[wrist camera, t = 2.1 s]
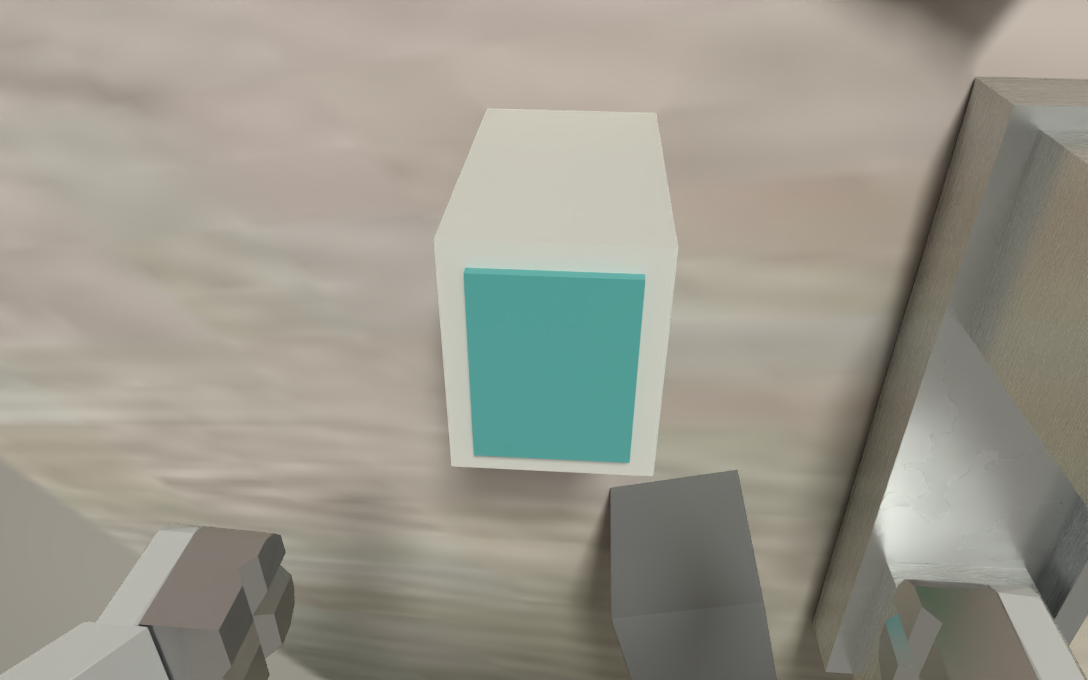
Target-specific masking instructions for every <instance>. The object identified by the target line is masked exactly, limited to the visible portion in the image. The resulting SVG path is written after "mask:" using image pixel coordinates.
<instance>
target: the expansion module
mask: <svg viewBox="0 0 1088 680" xmlns="http://www.w3.org/2000/svg"><path fill="white" fill-rule="evenodd" d="M434 251H435V264H436V276H437V289H438V302H439V315H440V327H441V340H442V353H443V365H444V378H445V391H446V404H447V416H448V429H449V442H450V455H451V466H455V467H475V468H495V469H515V470H535V471H555V472H575V473H595V474H615V475H635V476H653V474H654V465H655V456H656V447H657V437H658V428H659V419H660V410H661V401H662V392H663V383H664V374H665V365H666V356H667V347H668V338H669V328H670V319H671V310H672V301H673V292H674V283H675V274H676V265H677V256H678V243H677V237H676V231H675V225H674V219H673V212H672V206H671V200H670V194H669V188H668V182H667V176H666V170H665V163H664V157H663V151H662V145H661V139H660V133H659V127H658V120H657V114H656V113H641V112H603V111H565V110H527V109H489V108H487V110H486V112H485V115H484V117H483V119H482V122H481V124H480V127H479V129H478V132H477V134H476V137H475V139H474V142H473V144H472V147H471V149H470V151H469V154H468V156H467V159H466V161H465V164H464V166H463V169H462V171H461V174H460V176H459V178H458V181H457V183H456V186H455V188H454V191H453V193H452V196H451V198H450V201H449V203H448V205H447V208H446V210H445V213H444V215H443V218H442V220H441V223H440V225H439V228H438V230H437V232H436V235H435V237H434Z"/></svg>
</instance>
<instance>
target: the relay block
mask: <svg viewBox="0 0 1088 680" xmlns="http://www.w3.org/2000/svg"><path fill="white" fill-rule="evenodd" d="M610 490H611V620H612V623H613V626H614V629H615V632H616V635H617V638H618V641H619V644H620V647H621V650H622V653H623V656H624V659H625V662H626V665H627V668H628V671H629V674H630V677H631V680H777V677H776V672H775V666H774V660H773V654H772V648H771V642H770V636H769V630H768V625H767V619H766V613H765V607H764V601H763V596H762V591H761V586H760V581H759V576H758V571H757V566H756V561H755V556H754V551H753V546H752V541H751V536H750V531H749V526H748V521H747V516H746V511H745V506H744V501H743V496H742V491H741V485H740V480H739V475H738V470H733V471H726V472H719V473H712V474H705V475H698V476H691V477H684V478H676V479H669V480H662V481H655V482H648V483H641V484H634V485H627V486H620V487H613V488H610Z"/></svg>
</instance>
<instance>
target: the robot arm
mask: <svg viewBox="0 0 1088 680" xmlns="http://www.w3.org/2000/svg"><path fill="white" fill-rule="evenodd" d="M285 553H286V552H285V548H284V545H283V542H282V538H281V535H278V534H274V533H266V532H256V531H246V530H236V529H226V528H216V527H206V526H204V527H202V526H191V525H181V524H170V523H169V524H167V525H166V526H164V527H163V528H162V529H160V530H159V531H158V532H157V533H156V534H155V536H154V537H153V539H152V540H151V542H150V543H149V544H148V546H147V547H146V549H145V550H144V552H143V553H142V555H141V556H140V558H139V559H138V561H137V562H136V564H135V565H134V566H133V568H132V570H131V571H130V572H129V574H128V575H127V577H126V578H125V580H124V581H123V583H122V584H121V586H120V587H119V589H118V590H117V592H116V593H115V594H114V596H113V597H112V599H111V600H110V602H109V603H108V605H107V606H106V608H105V609H104V611H103V612H102V613H101V615H100V617H99V618H98V619H97V621H96V622H83V623H82V624H80V625H79V626H77V627H75V628H74V629H72V630H71V631H69V632H67V633H66V634H64V635H63V636H61V637H59V638H58V639H56V640H55V641H53V642H52V643H50V644H48V645H47V646H45V647H44V648H42V649H41V650H39V651H37V652H36V653H34V654H33V655H31V656H29V657H28V658H26V659H25V660H23V661H22V662H20V663H18V664H17V665H15V666H14V667H12V668H10V669H9V670H7V671H6V672H4V673H3V674H1V675H0V680H267V679H268V677H269V672H268V668H267V664H266V661H265V658H266V657H268V656H269V655H270V654H271V653H273V652H274V651H275V650H277V649H278V648H279V647H280V646H282V644H283V642H284V639H285V637H286V634H287V632H288V629H289V627H290V623H291V618H292V613H293V608H294V585H293V581H292V576H291V574H289V573H288V572H287V571H286V570H285V569H284V568H283V567H282V566H281V565H280V563H281V561H282V559H283V557H284V555H285ZM893 599H894V602H895V605H896V608H897V611H898V613H897V614H896V615H894V616H893V617H891V618H890V619H888V620H887V621H885V623H884V626H883V629H882V633H881V636H880V639H879V666H880V673H881V679H882V680H1085V679H1084V677H1083V676H1082V674H1081V672H1080V670H1079V668H1078V666H1077V664H1076V663H1075V661H1074V659H1073V657H1072V655H1071V653H1070V652H1069V650H1068V648H1067V646H1066V644H1065V642H1064V641H1063V639H1062V637H1061V635H1060V633H1059V631H1058V629H1057V628H1056V626H1055V624H1054V622H1053V620H1052V618H1051V617H1050V615H1049V613H1048V611H1047V609H1046V607H1045V606H1044V604H1043V602H1042V600H1041V598H1040V596H1039V595H1038V594H1037V593H1036V592H1035V591H1034V590H1033V589H1031V588H1027V587H1013V586H999V585H984V584H976V583H960V582H944V581H928V580H912V579H905V580H903V581H902V582H901V583H900V584H899V585H898V588H897V590H896V593H895V595H894V598H893Z"/></svg>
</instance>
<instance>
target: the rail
mask: <svg viewBox="0 0 1088 680" xmlns="http://www.w3.org/2000/svg"><path fill="white" fill-rule="evenodd" d="M905 579H912V580H928V581H944V582H960V583H976V584H984V585H999V586H1013V587H1027V588H1031V589H1033V590H1034V591H1035V592H1036V593H1037V594H1038V595H1039V596H1040V598H1041V600H1042V602H1043V604H1044V606H1045V607H1046V609H1047V611H1048V613H1049V615H1050V617H1051V618H1052V620H1053V622H1054V624H1055V626H1056V628H1057V629H1058V631H1059V633H1060V635H1061V637H1062V639H1063V641H1064V642H1065V644H1066V646H1067V648H1068V650H1069V652H1070V653H1071V655H1072V657H1073V659H1074V661H1075V663H1076V664H1077V666H1078V668H1079V670H1080V672H1081V674H1082V676H1083V677H1084V679H1085V680H1087V678H1086V676H1085V674H1084V673H1083V671H1082V669H1081V667H1080V665H1079V663H1078V662H1077V660H1076V658H1075V656H1074V654H1073V653H1072V651H1071V649H1070V647H1069V645H1070V643H1071V641H1072V640H1073V638H1074V636H1075V635H1076V633H1077V631H1078V630H1079V628H1080V626H1081V625H1082V623H1083V621H1084V620H1085V618H1086V616H1087V615H1088V80H1065V79H1022V78H980V77H976V79H975V82H974V85H973V89H972V92H971V95H970V99H969V102H968V105H967V109H966V112H965V115H964V119H963V122H962V125H961V129H960V132H959V135H958V139H957V142H956V145H955V149H954V152H953V155H952V159H951V162H950V165H949V169H948V172H947V175H946V178H945V182H944V185H943V188H942V192H941V195H940V198H939V202H938V205H937V208H936V212H935V215H934V218H933V222H932V225H931V228H930V232H929V235H928V238H927V242H926V245H925V248H924V252H923V255H922V258H921V262H920V265H919V268H918V272H917V275H916V278H915V282H914V285H913V288H912V292H911V295H910V298H909V302H908V305H907V308H906V312H905V315H904V318H903V322H902V325H901V328H900V332H899V335H898V338H897V342H896V345H895V348H894V352H893V355H892V358H891V362H890V365H889V368H888V371H887V375H886V378H885V381H884V385H883V388H882V391H881V395H880V398H879V401H878V405H877V408H876V411H875V415H874V418H873V421H872V425H871V428H870V431H869V435H868V438H867V441H866V445H865V448H864V451H863V455H862V458H861V461H860V465H859V468H858V471H857V475H856V478H855V481H854V485H853V488H852V491H851V495H850V498H849V501H848V505H847V508H846V511H845V515H844V518H843V521H842V525H841V528H840V531H839V535H838V538H837V541H836V545H835V548H834V551H833V554H832V558H831V561H830V564H829V568H828V571H827V574H826V578H825V581H824V584H823V588H822V591H821V594H820V598H819V601H818V604H817V608H816V611H815V614H814V618H813V621H812V622H813V626H814V630H815V634H816V638H817V642H818V646H819V650H820V654H821V658H822V662H823V665H824V669H825V672H831V673H847V674H853V677H854V680H882V679H881V673H880V666H879V639H880V636H881V633H882V629H883V626H884V623H885V621H887V620H888V619H890V618H891V617H893V616H894V615H896V614H897V613H898V611H897V608H896V605H895V602H894V599H893V598H894V595H895V593H896V590H897V588H898V585H899V584H900V583H901V582H902V581H903V580H905Z"/></svg>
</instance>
